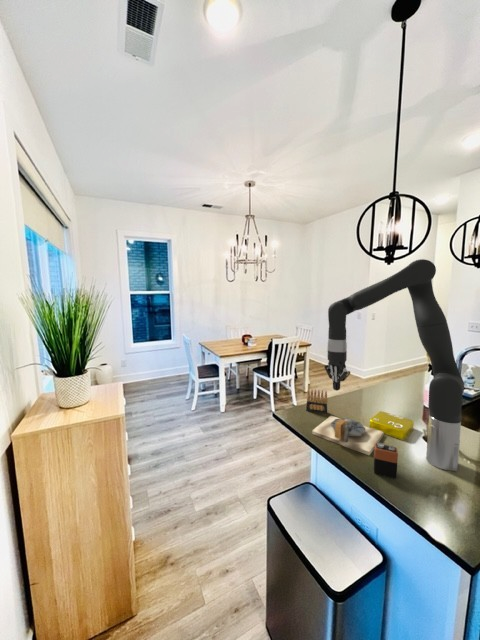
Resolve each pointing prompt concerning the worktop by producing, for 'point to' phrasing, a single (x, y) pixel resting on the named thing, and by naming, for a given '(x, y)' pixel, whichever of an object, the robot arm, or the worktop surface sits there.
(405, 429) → the element tile
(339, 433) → the multicoloured piece
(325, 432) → the dial base
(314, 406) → the ammunition clip
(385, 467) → the battery
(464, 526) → the worktop surface
